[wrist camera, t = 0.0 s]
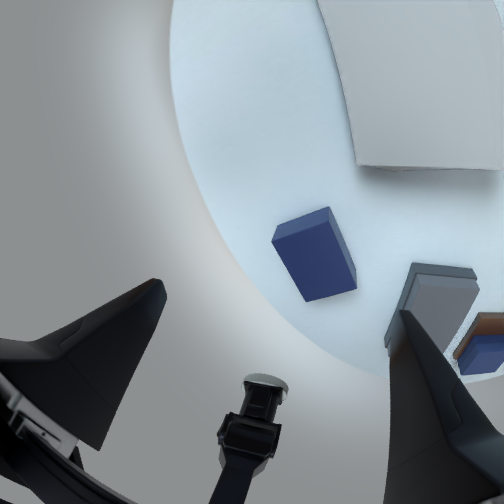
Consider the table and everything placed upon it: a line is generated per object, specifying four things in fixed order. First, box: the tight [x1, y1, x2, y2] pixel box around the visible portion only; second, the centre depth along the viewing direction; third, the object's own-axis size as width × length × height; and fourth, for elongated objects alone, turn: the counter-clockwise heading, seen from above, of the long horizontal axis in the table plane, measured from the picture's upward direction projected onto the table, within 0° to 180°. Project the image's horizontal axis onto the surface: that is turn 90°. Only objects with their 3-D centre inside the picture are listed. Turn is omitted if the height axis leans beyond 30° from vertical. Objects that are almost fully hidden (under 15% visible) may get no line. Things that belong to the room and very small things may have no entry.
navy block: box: [271, 207, 357, 302], centre depth 23 cm, size 7×5×3 cm
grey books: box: [384, 263, 480, 357], centre depth 23 cm, size 11×8×3 cm
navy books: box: [457, 334, 504, 375], centre depth 23 cm, size 7×5×3 cm
